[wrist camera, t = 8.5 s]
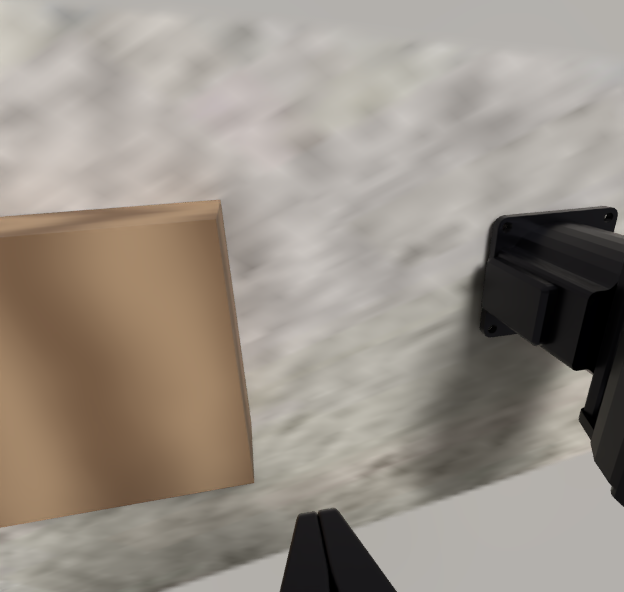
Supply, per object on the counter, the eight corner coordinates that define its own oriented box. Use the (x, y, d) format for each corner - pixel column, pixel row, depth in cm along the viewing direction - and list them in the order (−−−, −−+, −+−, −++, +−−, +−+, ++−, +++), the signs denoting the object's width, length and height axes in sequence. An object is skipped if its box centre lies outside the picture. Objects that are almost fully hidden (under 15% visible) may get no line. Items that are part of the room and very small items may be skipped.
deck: (220, 199, 17) (215, 219, 13) (251, 423, 22) (254, 482, 18) (-69, 222, 15) (-163, 251, 12) (32, 457, 20) (-13, 529, 17)
